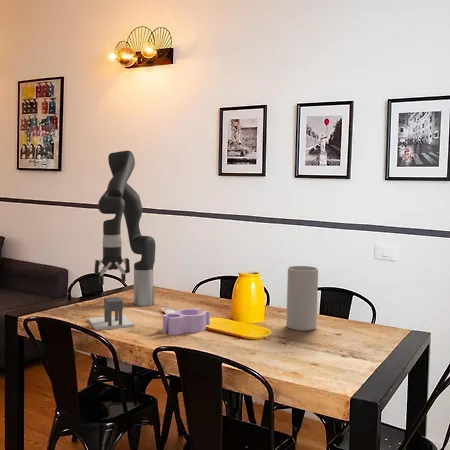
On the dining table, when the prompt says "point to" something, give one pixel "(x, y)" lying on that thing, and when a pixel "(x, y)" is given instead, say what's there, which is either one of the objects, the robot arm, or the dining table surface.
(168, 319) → the clip
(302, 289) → the cylinder vase
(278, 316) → the dining table surface
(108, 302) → the charcoal stool
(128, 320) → the grey mat
